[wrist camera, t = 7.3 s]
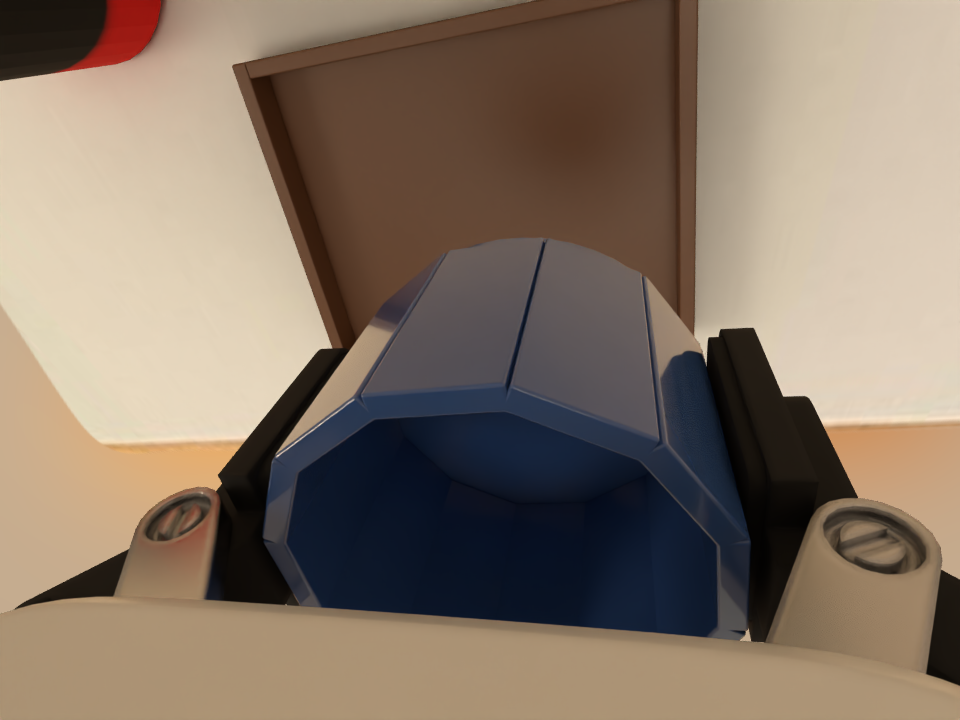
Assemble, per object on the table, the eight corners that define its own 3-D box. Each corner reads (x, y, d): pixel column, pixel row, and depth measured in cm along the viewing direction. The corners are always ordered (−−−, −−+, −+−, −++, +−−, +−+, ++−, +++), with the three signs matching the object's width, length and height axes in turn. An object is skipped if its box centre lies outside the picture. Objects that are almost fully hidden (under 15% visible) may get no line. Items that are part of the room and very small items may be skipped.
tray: (354, 350, 31) (339, 370, 30) (257, 60, 24) (230, 65, 22) (689, 329, 27) (694, 351, 25) (691, -33, 20) (698, -35, 18)
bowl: (318, 353, 13) (182, 525, 9) (556, 151, 10) (516, 274, 6) (513, 534, 15) (477, 742, 11) (766, 417, 12) (851, 654, 8)
